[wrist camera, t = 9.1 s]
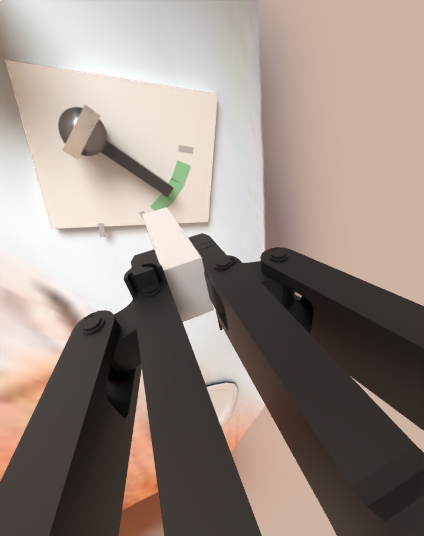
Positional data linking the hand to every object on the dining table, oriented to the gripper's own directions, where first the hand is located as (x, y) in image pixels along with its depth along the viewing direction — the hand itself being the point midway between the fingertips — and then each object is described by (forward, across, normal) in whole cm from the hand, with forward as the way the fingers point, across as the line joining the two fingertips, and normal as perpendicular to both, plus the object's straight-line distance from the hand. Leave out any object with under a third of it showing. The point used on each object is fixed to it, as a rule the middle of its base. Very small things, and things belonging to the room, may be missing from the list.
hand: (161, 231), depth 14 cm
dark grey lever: (+21, -1, +2) cm, 21 cm away
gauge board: (+22, 0, +1) cm, 22 cm away
